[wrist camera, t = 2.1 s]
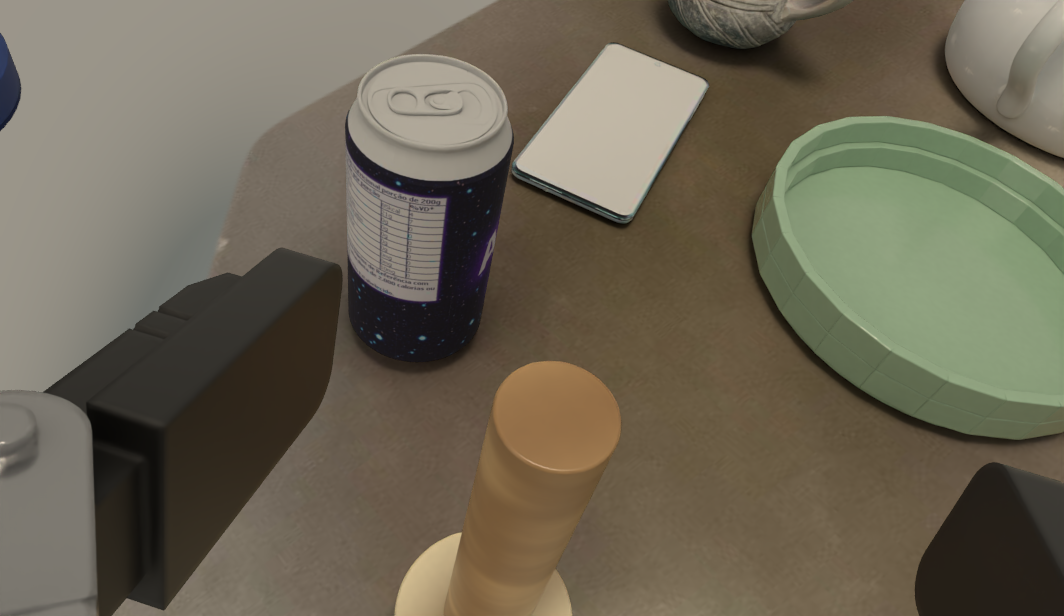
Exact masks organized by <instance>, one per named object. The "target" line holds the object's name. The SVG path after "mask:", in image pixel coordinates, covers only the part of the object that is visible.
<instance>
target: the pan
mask: <svg viewBox="0 0 1064 616" xmlns="http://www.w3.org/2000/svg"><path fill="white" fill-rule="evenodd" d="M752 240H753V245H754V249H755V254H756V259H757V263H758V268H759V271H760V272H759V273H760V275H761V277H762V279H763V281H764V282H765V284H766V286H767V288H768V290H769V292H770V294H771V296H772V298H773V300H774V301H775V303H776V305H777V307H778V309H779V311H781V313H782V314H783V316H784V318H785V319H786V320H787V322H788V323H789V324H790V325H791V327H792V328H793V329H794V331H795V332H796V333H797V334H798V336H799V337H800V338H801V339H802V340H803V341H804V342H805V343H806V344H807V345H808V346H809V347H810V348H811V349H812V351H813V352H814V353H815V354H816V355H817V356H819V357H820V358H821V359H822V360H823V361H824V362H825V363H827V364H828V365H829V366H830V367H831V368H832V369H833V370H835V371H836V372H837V373H838V374H840V375H841V376H843V377H844V378H845V379H847V380H848V381H849V382H851V383H852V384H853V385H855V386H856V387H858V388H859V389H861V390H862V391H864V392H866V393H867V394H869V395H871V396H872V397H874V398H876V399H877V400H879V401H881V402H882V403H885V404H887V405H889V406H891V407H893V408H895V409H897V410H899V411H901V412H903V413H905V414H907V415H910V416H912V417H915V418H917V419H920V420H923V421H925V422H928V423H930V424H934V425H937V426H941V427H944V428H948V429H952V430H955V431H958V432H961V433H964V434H969V435H978V436H987V437H996V438H1005V439H1015V440H1018V439H1019V440H1021V439H1027V438H1033V437H1039V436H1045V435H1051V434H1057V433H1062V432H1064V188H1063V187H1062V186H1060V185H1059V184H1058V183H1057V182H1055V181H1054V180H1052V179H1051V178H1049V177H1047V176H1046V175H1044V174H1043V173H1041V172H1039V171H1038V170H1036V169H1035V168H1033V167H1031V166H1030V165H1028V164H1027V163H1025V162H1023V161H1022V160H1020V159H1018V158H1017V157H1015V156H1013V155H1011V154H1009V153H1007V152H1005V151H1003V150H1001V149H998V148H996V147H994V146H992V145H990V144H988V143H985V142H983V141H981V140H979V139H977V138H975V137H972V136H970V135H967V134H964V133H960V132H957V131H954V130H951V129H947V128H944V127H941V126H938V125H935V124H931V123H927V122H922V121H916V120H909V119H903V118H897V117H890V116H863V117H847V118H843V119H839V120H835V121H832V122H828V123H824V124H820V125H818V126H815V127H814V128H812V129H811V130H809V131H808V132H806V133H805V134H803V135H802V136H800V137H799V138H797V139H796V140H794V141H793V142H791V144H790V145H789V147H788V149H787V150H786V152H785V153H784V155H783V156H782V158H781V159H780V161H779V163H778V164H777V166H776V168H775V170H774V171H773V173H772V175H771V177H770V179H769V181H768V183H767V185H766V187H765V189H764V190H763V192H762V194H761V196H760V198H759V200H758V202H757V204H756V208H755V215H754V222H753V229H752Z"/></svg>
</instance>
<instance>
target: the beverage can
mask: <svg viewBox="0 0 1064 616" xmlns="http://www.w3.org/2000/svg"><path fill="white" fill-rule="evenodd" d="M507 112H508V107H507V101H506V98H505V95H504V93H503V91H502V89H501V88H500V86H499V85H498V84H497V83H496V82H495V81H494V80H493V79H492V78H491V77H490V76H489V75H488V74H486V73H485V72H483V71H482V70H480V69H479V68H477V67H475V66H473V65H471V64H469V63H466V62H464V61H461V60H458V59H454V58H451V57H446V56H441V55H432V54H413V55H405V56H399V57H395V58H392V59H389V60H386V61H384V62H382V63H380V64H378V65H376V66H375V67H373V68H372V69H371V70H370V71H369V72H368V73H366V74H365V76H364V77H363V79H362V80H361V82H360V85H359V87H358V92H357V99H356V100H355V101H354V103H353V104H352V106H351V108H350V110H349V112H348V114H347V117H346V123H345V135H346V190H347V245H348V301H349V317H350V321H351V323H352V326H353V328H354V330H355V331H356V333H357V334H358V336H359V337H360V338H361V339H362V340H363V341H364V342H365V343H366V344H367V345H368V346H369V347H371V348H372V349H374V350H375V351H377V352H379V353H381V354H383V355H385V356H388V357H390V358H393V359H397V360H402V361H409V362H427V361H433V360H438V359H441V358H444V357H447V356H449V355H452V354H454V353H455V352H457V351H459V350H460V349H462V348H463V347H464V346H465V345H466V344H467V343H468V342H469V341H470V340H471V339H472V338H473V336H474V335H475V333H476V331H477V329H478V327H479V324H480V319H481V314H482V309H483V303H484V298H485V293H486V287H487V282H488V277H489V272H490V266H491V261H492V256H493V250H494V245H495V240H496V234H497V229H498V224H499V218H500V213H501V208H502V203H503V197H504V192H505V187H506V181H507V176H508V171H509V165H510V160H511V155H512V149H513V144H514V136H513V130H512V127H511V124H510V122H509V119H508V117H507Z"/></svg>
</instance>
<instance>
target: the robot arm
mask: <svg viewBox="0 0 1064 616" xmlns="http://www.w3.org/2000/svg"><path fill="white" fill-rule="evenodd" d="M341 290H342V270H341V267H340V266H339V265H338V264H335V263H332V262H329V261H325V260H322V259H319V258H315V257H312V256H308V255H305V254H302V253H298V252H295V251H292V250H288V249H285V248H279V249H276V250H275V251H274V252H272V253H271V254H270V255H269V256H267V257H266V258H265V259H264V260H262V261H261V262H260V263H259V264H257V265H256V266H255V267H254V268H252V269H251V270H250V271H249V272H247V273H246V274H245V275H244V276H242V277H241V276H238V275H234V274H231V273H225V274H222V275H219V276H216V277H213V278H210V279H207V280H203V281H200V282H198V283H194V284H191V285H188V286H187V287H185V288H184V289H183V290H181V291H180V292H178V293H177V294H176V295H175V296H173V297H172V298H171V299H169V300H168V301H166V302H165V303H164V304H162V305H161V306H160V307H159V310H158V312H156V311H153V312H151V313H150V314H149V315H147V316H146V317H145V318H143V319H142V320H140V321H139V322H138V323H136V325H135V328H134V330H132V329H128V330H127V331H125V333H123V334H121V335H120V336H119V337H117V338H116V339H115V340H113V341H112V342H110V343H109V344H108V345H106V346H105V347H104V348H102V349H101V350H100V351H98V352H97V353H96V354H94V355H93V356H92V357H90V358H89V359H87V360H86V361H85V362H83V363H82V364H81V365H79V366H78V367H77V368H75V369H74V370H72V371H71V372H70V373H68V374H67V375H66V376H64V377H63V378H62V379H60V380H59V381H57V382H56V383H55V384H53V385H52V386H51V387H49V388H48V389H47V390H45V391H44V392H36V391H24V390H7V391H0V616H112V615H113V613H114V612H115V611H116V610H117V609H118V607H119V606H120V605H121V604H122V603H123V602H124V600H125V599H126V598H128V599H131V600H134V601H137V602H140V603H143V604H146V605H149V606H152V607H155V608H158V609H161V610H165V609H166V607H167V606H168V605H169V603H170V602H171V601H172V599H173V598H174V597H175V596H176V594H177V593H178V592H179V590H180V589H181V588H182V586H183V585H184V584H185V583H186V581H187V580H188V579H189V577H190V576H191V575H192V573H193V572H194V571H195V570H196V568H197V567H198V566H199V564H200V563H201V562H202V560H203V559H204V558H205V556H206V555H207V554H208V553H209V551H210V550H211V549H212V547H213V546H214V545H215V543H216V542H217V541H218V540H219V538H220V537H221V536H222V534H223V533H224V532H225V530H226V529H227V528H228V527H229V525H230V524H231V523H232V521H233V520H234V519H235V517H236V516H237V515H238V514H239V512H240V511H241V510H242V508H243V507H244V506H245V504H246V503H247V502H248V501H249V499H250V498H251V497H252V495H253V494H254V493H255V491H256V490H257V489H258V488H259V486H260V485H261V484H262V482H263V481H264V480H265V478H266V477H267V476H268V474H269V473H270V472H271V471H272V469H273V468H274V467H275V465H276V464H277V463H278V461H279V460H280V459H281V458H282V456H283V455H284V454H285V452H286V451H287V450H288V448H289V447H290V446H291V445H292V443H293V442H294V441H295V439H296V438H297V437H298V435H299V434H300V433H301V432H302V430H303V429H304V428H305V426H306V425H307V424H308V422H309V421H310V420H311V419H312V417H313V416H314V414H315V413H316V411H317V409H318V408H319V406H320V404H321V402H322V399H323V397H324V395H325V392H326V389H327V386H328V383H329V379H330V375H331V370H332V364H333V355H334V347H335V339H336V331H337V323H338V315H339V307H340V299H341ZM915 601H916V606H917V610H918V613H919V616H1064V483H1062V482H1060V481H1057V480H1054V479H1050V478H1047V477H1044V476H1040V475H1037V474H1034V473H1030V472H1027V471H1024V470H1020V469H1017V468H1014V467H1010V466H1007V465H1004V464H1000V463H995V462H993V463H989V464H986V465H984V466H983V467H982V468H980V470H979V471H978V472H977V473H976V474H975V475H974V477H973V478H972V480H971V481H970V483H969V484H968V486H967V487H966V489H965V490H964V492H963V494H962V495H961V497H960V498H959V500H958V501H957V503H956V504H955V506H954V508H953V509H952V511H951V512H950V514H949V515H948V517H947V518H946V520H945V521H944V523H943V525H942V526H941V528H940V529H939V531H938V532H937V534H936V535H935V537H934V539H933V540H932V542H931V543H930V545H929V546H928V548H927V549H926V551H925V553H924V555H923V556H922V559H921V561H920V564H919V567H918V571H917V575H916V581H915Z"/></svg>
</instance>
